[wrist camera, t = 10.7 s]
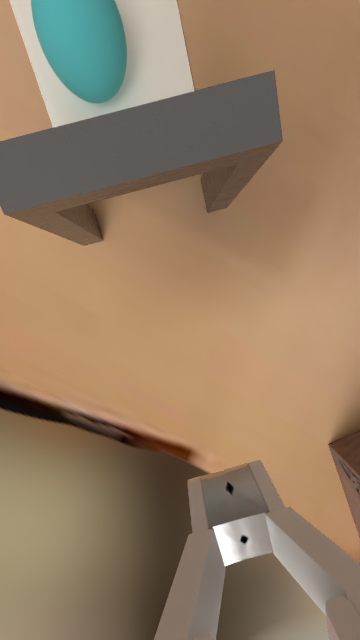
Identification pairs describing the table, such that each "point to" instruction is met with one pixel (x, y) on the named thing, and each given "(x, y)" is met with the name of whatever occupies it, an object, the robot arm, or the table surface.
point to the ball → (83, 45)
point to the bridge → (141, 154)
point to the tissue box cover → (349, 471)
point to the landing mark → (142, 61)
